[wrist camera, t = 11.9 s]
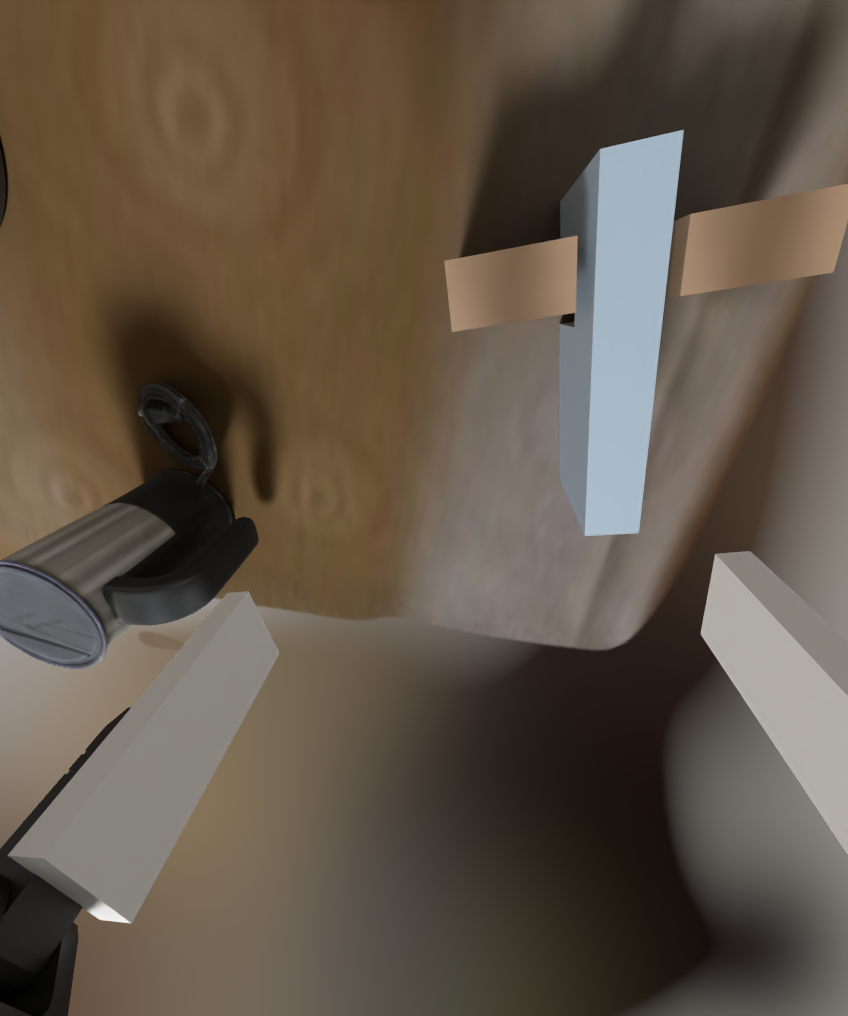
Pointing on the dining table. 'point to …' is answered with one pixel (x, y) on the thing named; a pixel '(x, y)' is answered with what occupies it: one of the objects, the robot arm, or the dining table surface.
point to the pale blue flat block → (615, 327)
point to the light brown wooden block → (692, 264)
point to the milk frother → (127, 554)
